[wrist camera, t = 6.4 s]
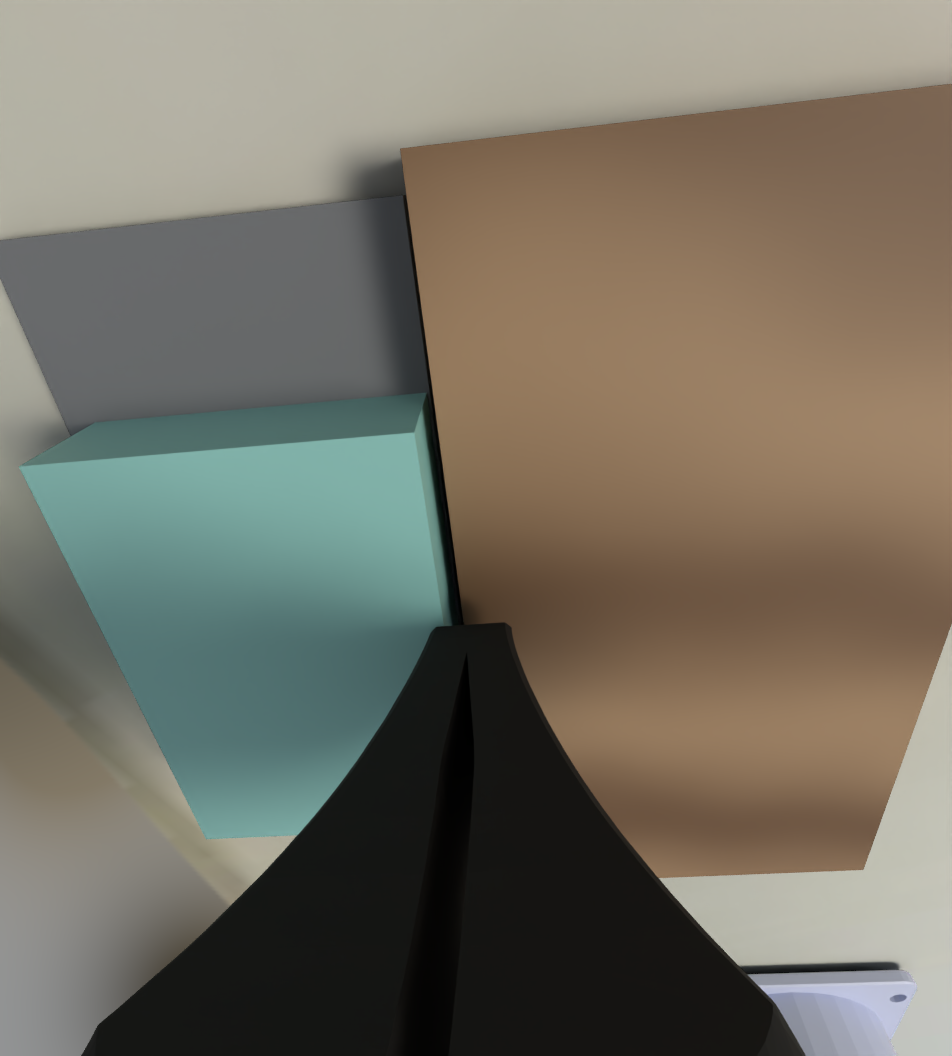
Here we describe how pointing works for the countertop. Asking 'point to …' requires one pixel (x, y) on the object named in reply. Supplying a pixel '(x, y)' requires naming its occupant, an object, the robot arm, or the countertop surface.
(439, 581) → the teal rectangular block
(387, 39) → the countertop surface
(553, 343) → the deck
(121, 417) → the mat
